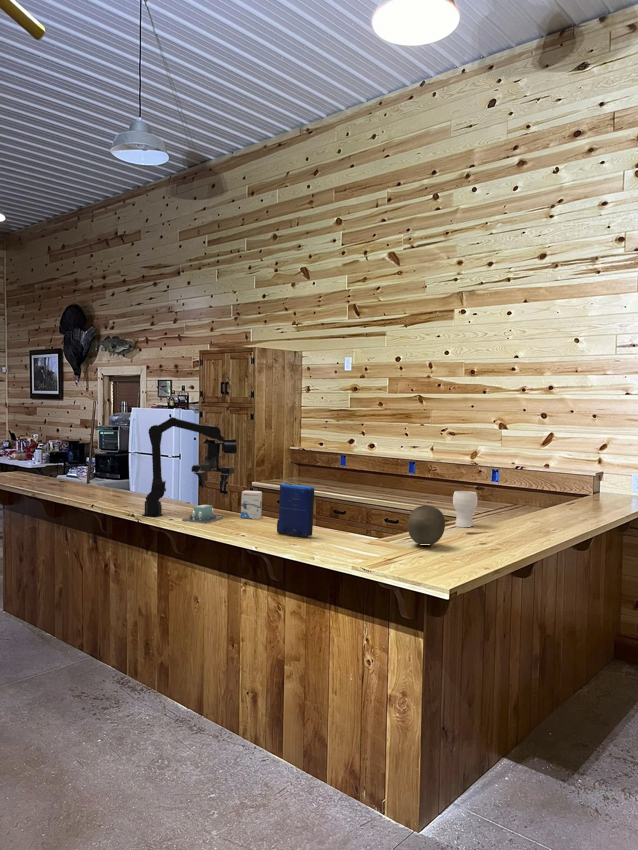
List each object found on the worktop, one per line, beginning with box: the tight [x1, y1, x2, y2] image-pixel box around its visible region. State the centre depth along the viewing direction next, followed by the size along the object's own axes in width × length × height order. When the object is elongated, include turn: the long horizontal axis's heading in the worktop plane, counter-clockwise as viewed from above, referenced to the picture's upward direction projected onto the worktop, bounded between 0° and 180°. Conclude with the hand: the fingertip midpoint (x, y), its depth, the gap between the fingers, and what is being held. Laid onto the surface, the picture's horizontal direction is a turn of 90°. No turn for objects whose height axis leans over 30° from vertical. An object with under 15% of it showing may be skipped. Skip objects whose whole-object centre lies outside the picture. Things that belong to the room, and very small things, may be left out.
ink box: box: [240, 490, 263, 520], centre depth 284 cm, size 9×5×12 cm, turn 84°
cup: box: [452, 490, 479, 528], centre depth 282 cm, size 11×11×15 cm
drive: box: [193, 504, 213, 520], centre depth 276 cm, size 4×8×5 cm, turn 161°
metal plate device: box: [181, 507, 224, 524], centre depth 276 cm, size 12×14×4 cm
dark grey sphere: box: [407, 504, 446, 545], centre depth 236 cm, size 14×14×15 cm
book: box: [276, 482, 315, 538], centre depth 248 cm, size 14×5×20 cm, turn 62°
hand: (212, 488), depth 287 cm, fingers open, 9 cm apart
